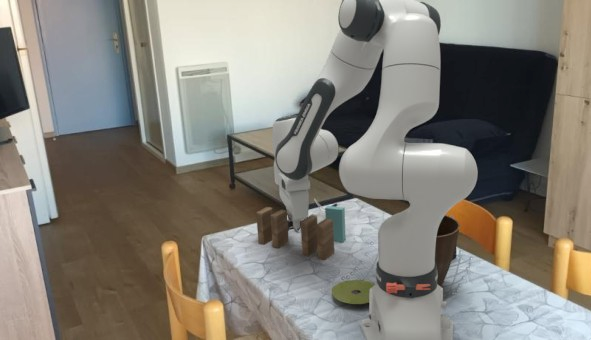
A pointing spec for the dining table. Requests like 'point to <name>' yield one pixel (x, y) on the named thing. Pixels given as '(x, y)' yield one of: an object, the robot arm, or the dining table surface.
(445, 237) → the plant pot
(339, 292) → the green disc
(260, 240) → the walnut tile
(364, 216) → the dining table surface
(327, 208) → the teal tile
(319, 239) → the walnut tile
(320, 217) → the clip-on lamp
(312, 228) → the walnut tile
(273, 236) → the walnut tile
